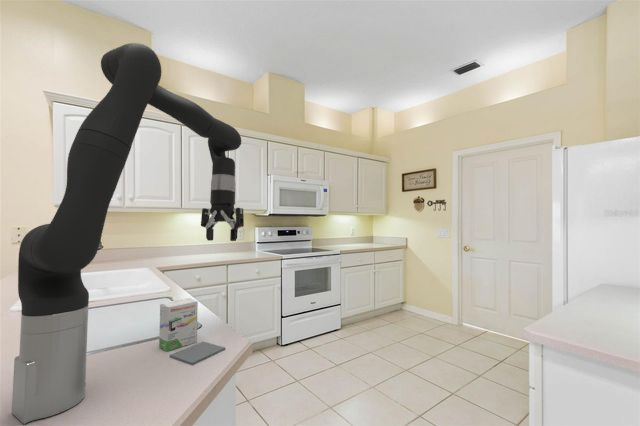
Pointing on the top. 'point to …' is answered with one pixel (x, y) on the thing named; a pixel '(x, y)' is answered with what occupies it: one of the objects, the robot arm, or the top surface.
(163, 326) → the ink box
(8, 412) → the top surface
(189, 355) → the mat
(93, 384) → the top surface
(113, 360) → the top surface
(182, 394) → the top surface
